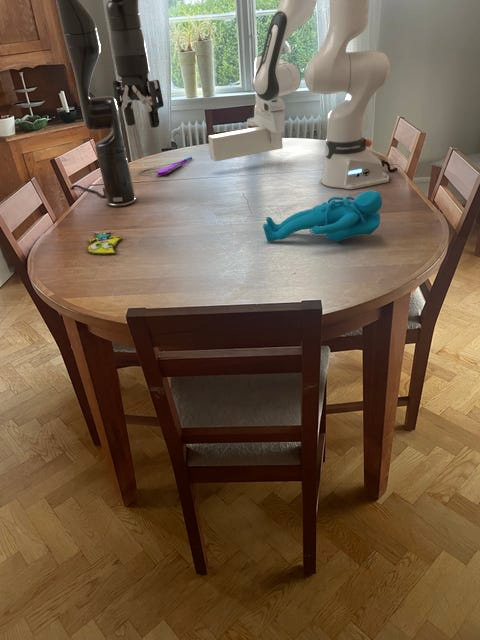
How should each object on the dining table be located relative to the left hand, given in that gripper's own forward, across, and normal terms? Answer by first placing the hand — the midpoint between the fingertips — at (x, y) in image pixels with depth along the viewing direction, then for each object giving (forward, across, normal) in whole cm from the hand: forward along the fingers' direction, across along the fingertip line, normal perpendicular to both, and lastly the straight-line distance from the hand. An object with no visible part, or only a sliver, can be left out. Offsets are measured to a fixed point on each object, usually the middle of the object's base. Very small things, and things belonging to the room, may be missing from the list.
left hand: (143, 126), depth 120 cm
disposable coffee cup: (+30, -30, +93) cm, 103 cm away
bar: (+24, -16, +65) cm, 72 cm away
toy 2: (+30, +41, +18) cm, 54 cm away
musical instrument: (+30, -49, +52) cm, 78 cm away
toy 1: (+30, -11, -12) cm, 34 cm away
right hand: (+21, -11, +73) cm, 77 cm away
